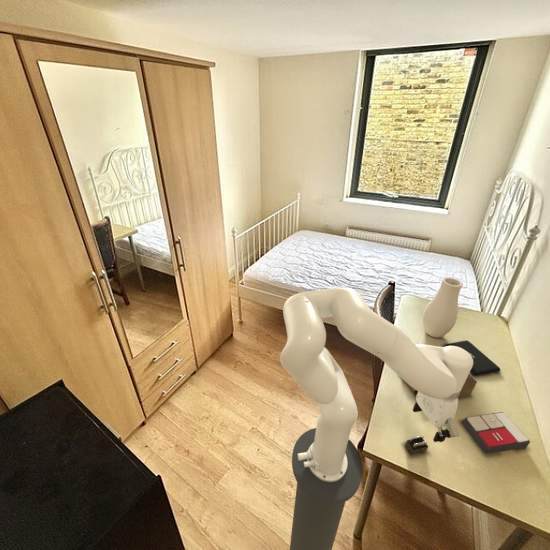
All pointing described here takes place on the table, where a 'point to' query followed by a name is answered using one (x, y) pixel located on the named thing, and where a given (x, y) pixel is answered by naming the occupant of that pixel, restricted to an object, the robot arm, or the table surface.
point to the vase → (442, 308)
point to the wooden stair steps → (465, 389)
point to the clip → (416, 445)
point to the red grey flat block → (495, 433)
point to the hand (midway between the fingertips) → (427, 424)
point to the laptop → (477, 359)
